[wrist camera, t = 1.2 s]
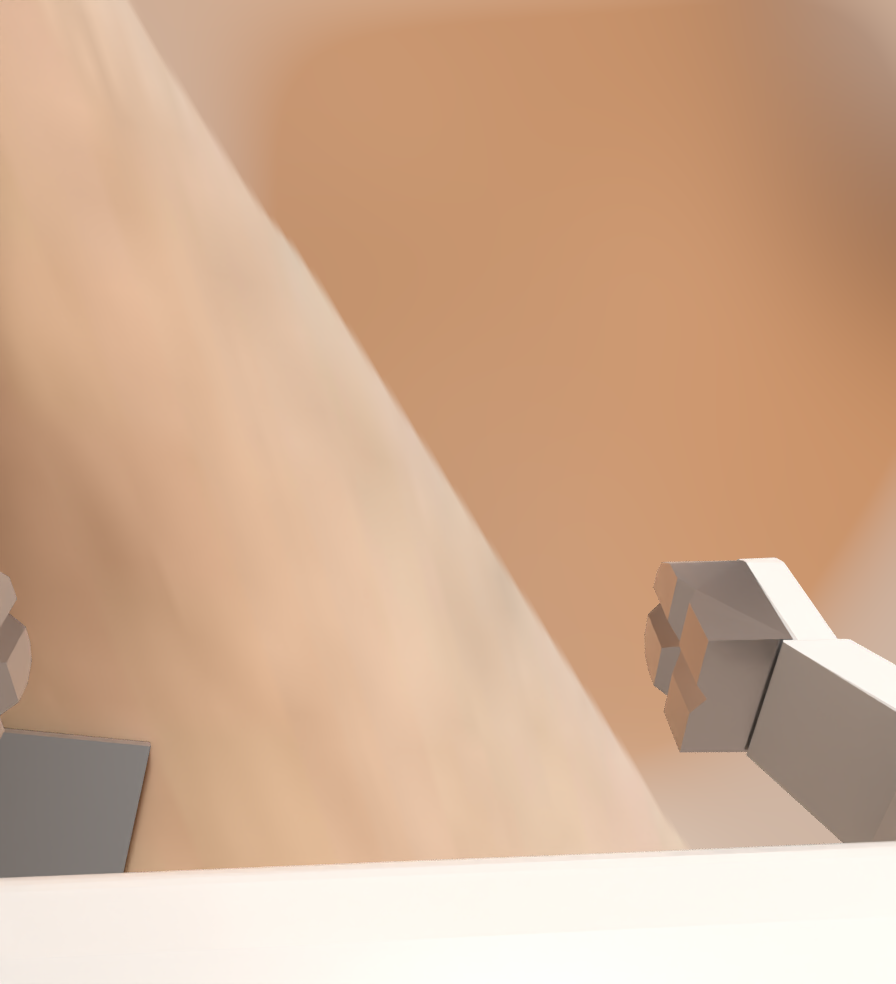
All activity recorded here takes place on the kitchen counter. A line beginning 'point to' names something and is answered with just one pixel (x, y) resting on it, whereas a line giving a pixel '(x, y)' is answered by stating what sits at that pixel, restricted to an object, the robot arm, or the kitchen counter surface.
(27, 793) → the slate tile
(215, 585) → the kitchen counter surface
